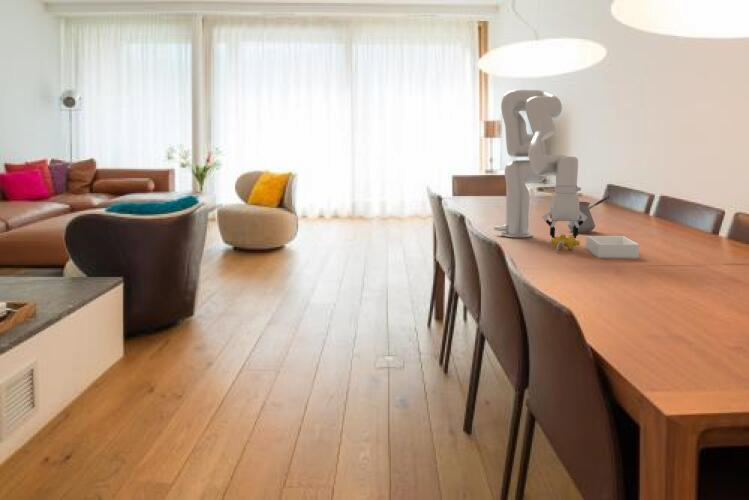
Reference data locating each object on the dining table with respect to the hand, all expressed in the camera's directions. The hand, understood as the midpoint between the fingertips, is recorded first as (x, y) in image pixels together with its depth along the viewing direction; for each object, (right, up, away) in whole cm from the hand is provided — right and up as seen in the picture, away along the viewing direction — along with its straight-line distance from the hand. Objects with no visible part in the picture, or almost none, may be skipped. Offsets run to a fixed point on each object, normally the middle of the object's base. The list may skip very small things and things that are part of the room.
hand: (563, 237), depth 229 cm
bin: (+14, -6, -9) cm, 18 cm away
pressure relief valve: (-1, -5, -4) cm, 7 cm away
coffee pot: (+24, +3, +41) cm, 48 cm away
